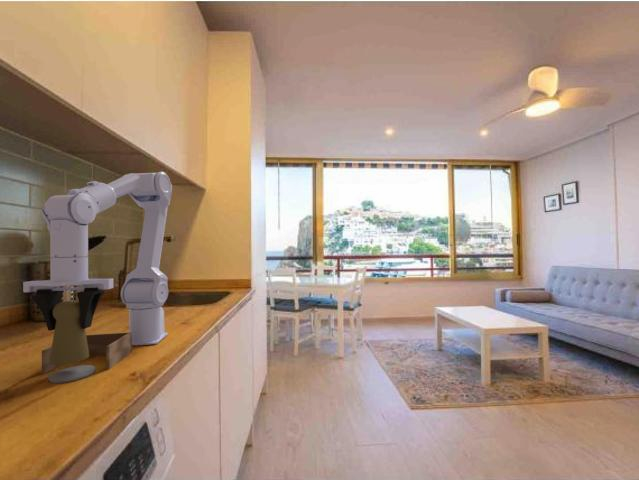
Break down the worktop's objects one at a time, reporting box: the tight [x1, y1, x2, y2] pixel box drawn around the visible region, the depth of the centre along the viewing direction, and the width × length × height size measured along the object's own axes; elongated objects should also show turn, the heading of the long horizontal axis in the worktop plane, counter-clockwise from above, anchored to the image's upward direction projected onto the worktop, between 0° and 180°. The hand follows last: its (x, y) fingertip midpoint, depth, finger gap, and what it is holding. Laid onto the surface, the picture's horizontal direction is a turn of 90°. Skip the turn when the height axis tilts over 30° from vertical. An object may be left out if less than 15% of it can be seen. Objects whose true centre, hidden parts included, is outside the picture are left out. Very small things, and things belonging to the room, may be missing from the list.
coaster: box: [48, 364, 96, 384], centre depth 61 cm, size 7×7×1 cm
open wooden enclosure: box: [41, 332, 133, 375], centre depth 68 cm, size 10×12×4 cm
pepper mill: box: [49, 299, 90, 366], centre depth 61 cm, size 6×6×11 cm
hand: (70, 328), depth 61 cm, fingers closed on pepper mill, 5 cm apart
